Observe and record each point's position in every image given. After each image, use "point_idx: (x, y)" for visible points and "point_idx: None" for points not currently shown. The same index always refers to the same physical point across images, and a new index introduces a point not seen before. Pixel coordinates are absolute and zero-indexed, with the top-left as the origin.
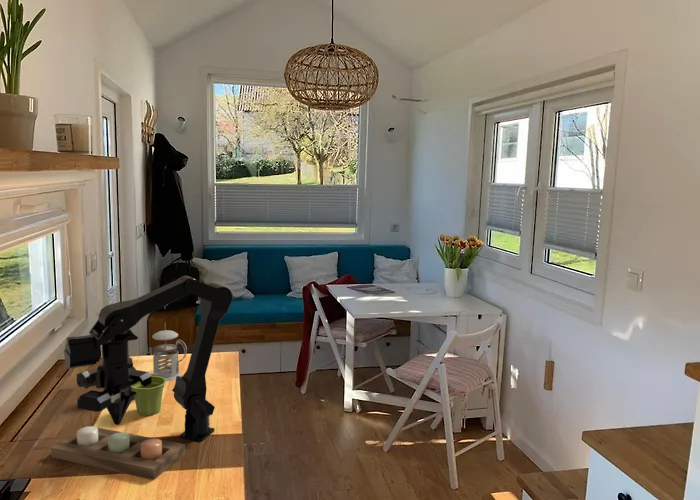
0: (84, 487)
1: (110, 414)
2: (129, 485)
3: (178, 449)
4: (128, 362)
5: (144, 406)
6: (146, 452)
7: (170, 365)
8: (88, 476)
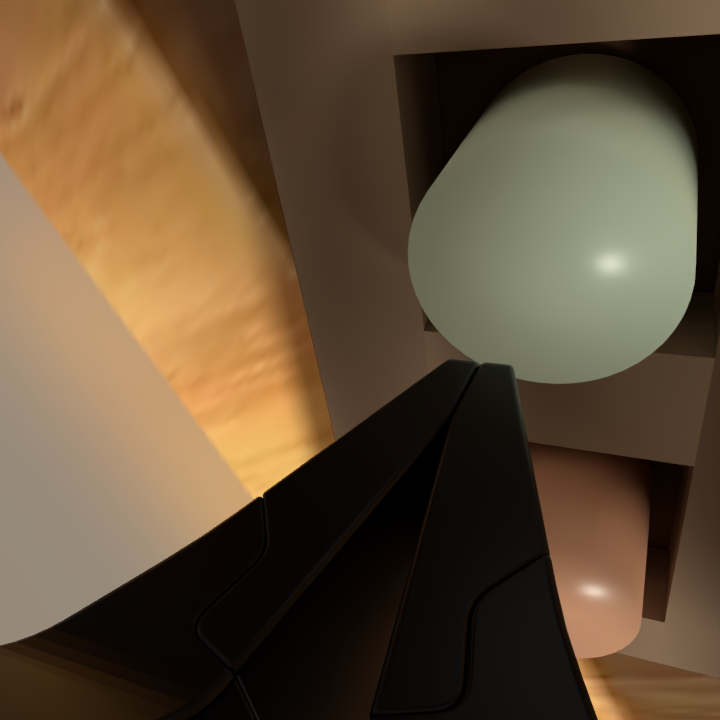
0: (121, 229)
1: (304, 474)
2: (289, 446)
3: (672, 663)
4: None
5: None
6: None
7: None
8: (202, 153)
